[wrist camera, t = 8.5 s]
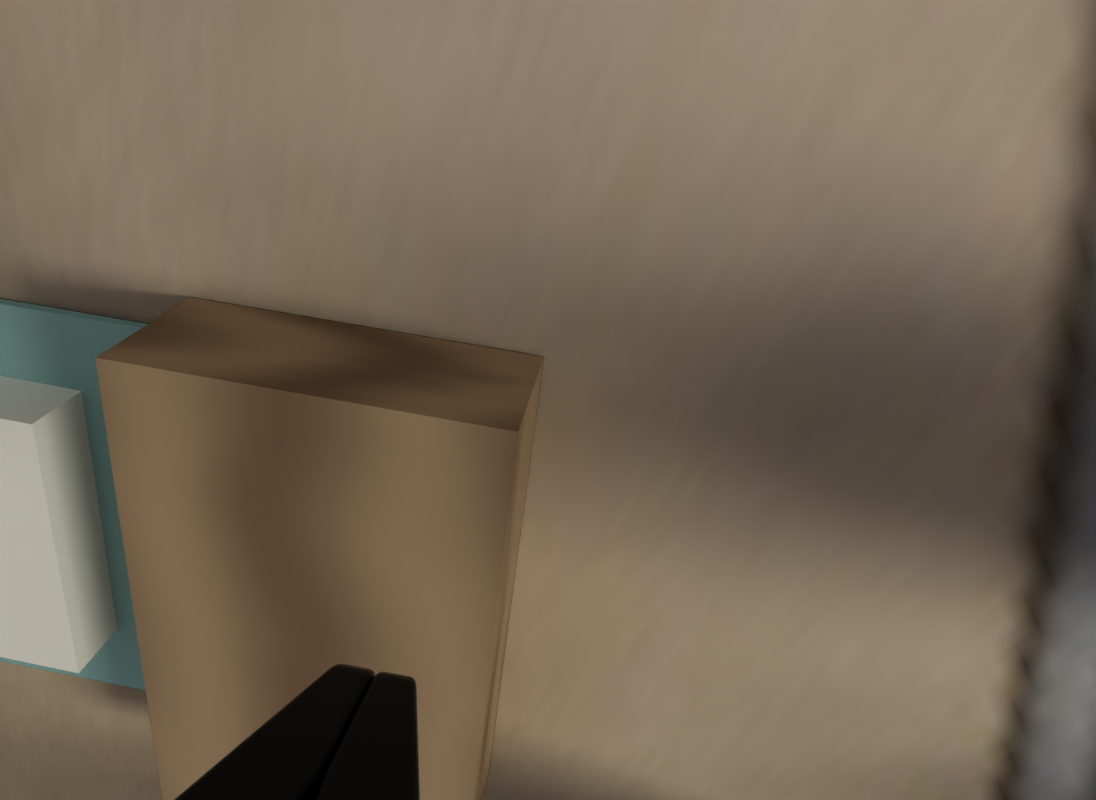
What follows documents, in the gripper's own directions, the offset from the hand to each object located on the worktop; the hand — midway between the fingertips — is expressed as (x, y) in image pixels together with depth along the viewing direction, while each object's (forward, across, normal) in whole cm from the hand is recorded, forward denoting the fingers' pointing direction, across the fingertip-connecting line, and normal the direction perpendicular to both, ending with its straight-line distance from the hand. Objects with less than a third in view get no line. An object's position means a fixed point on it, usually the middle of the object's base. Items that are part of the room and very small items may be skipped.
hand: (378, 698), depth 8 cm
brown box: (+13, +5, +10) cm, 17 cm away
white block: (+11, +16, +10) cm, 21 cm away
